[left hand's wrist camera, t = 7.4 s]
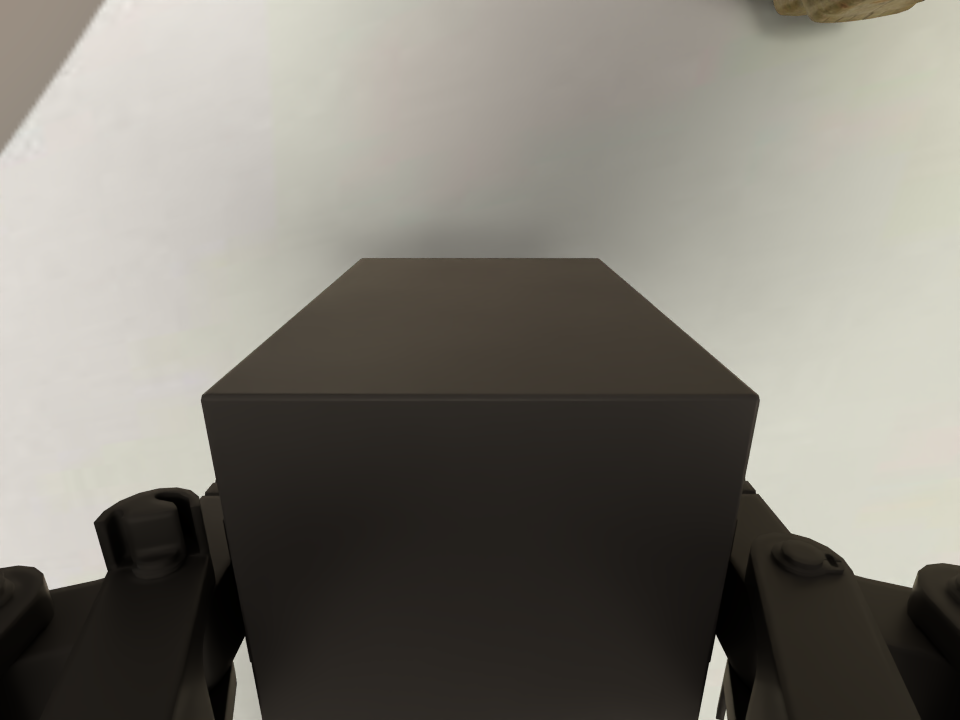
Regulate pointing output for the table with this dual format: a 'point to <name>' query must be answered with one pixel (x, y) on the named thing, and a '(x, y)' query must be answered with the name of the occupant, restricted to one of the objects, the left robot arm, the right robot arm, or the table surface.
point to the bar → (480, 496)
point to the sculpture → (842, 9)
